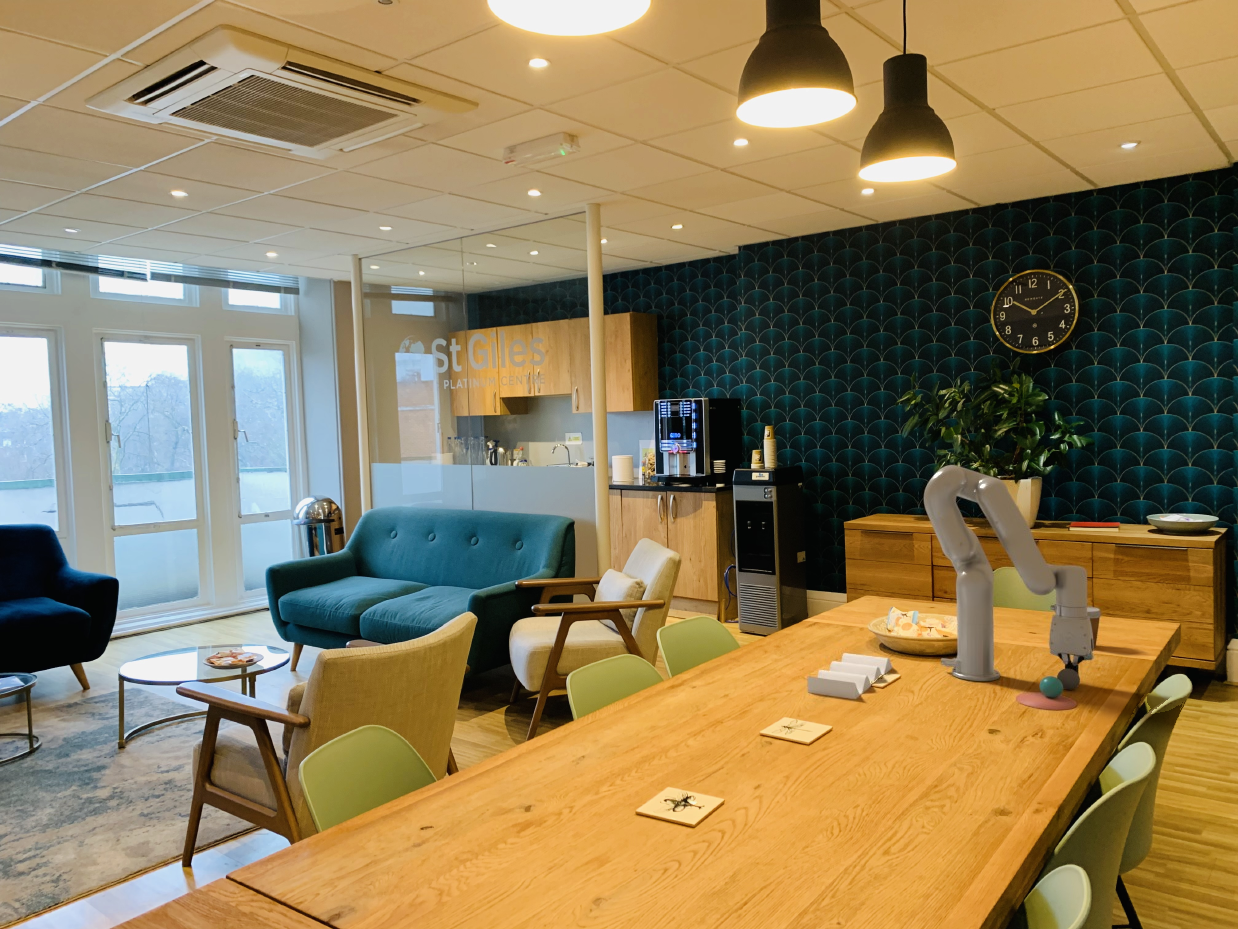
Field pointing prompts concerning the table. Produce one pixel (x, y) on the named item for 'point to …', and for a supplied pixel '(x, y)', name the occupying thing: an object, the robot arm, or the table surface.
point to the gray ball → (1069, 678)
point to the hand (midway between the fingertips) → (1071, 678)
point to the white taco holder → (848, 676)
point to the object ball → (1051, 687)
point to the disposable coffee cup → (1094, 622)
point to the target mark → (1045, 701)
